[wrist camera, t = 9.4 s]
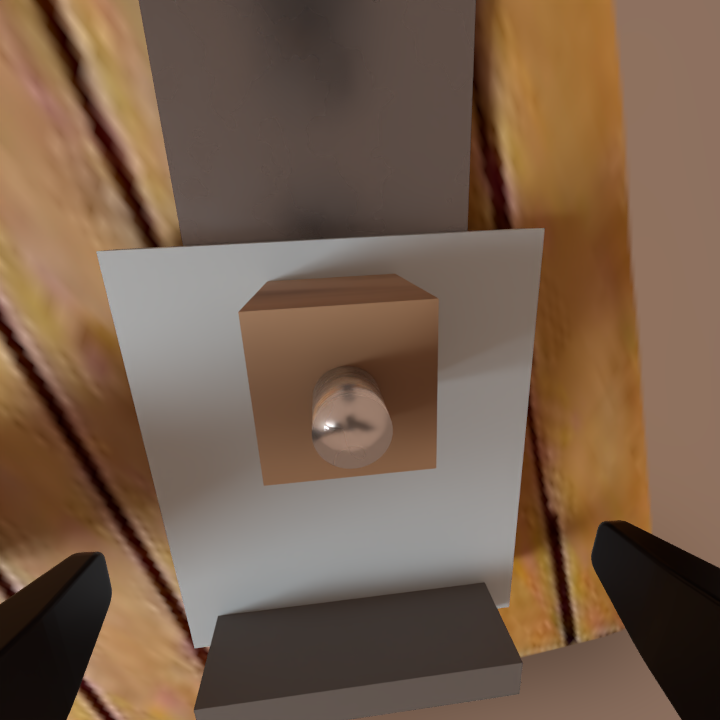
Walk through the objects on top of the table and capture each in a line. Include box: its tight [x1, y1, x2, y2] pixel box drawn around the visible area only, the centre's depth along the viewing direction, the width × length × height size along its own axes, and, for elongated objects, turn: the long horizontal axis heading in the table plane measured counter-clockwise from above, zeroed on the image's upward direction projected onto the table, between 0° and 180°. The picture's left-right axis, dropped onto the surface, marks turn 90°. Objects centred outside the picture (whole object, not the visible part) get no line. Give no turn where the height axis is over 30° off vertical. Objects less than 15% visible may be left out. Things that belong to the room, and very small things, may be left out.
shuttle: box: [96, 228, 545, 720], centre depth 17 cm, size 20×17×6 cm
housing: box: [238, 274, 439, 486], centre depth 13 cm, size 5×5×8 cm
